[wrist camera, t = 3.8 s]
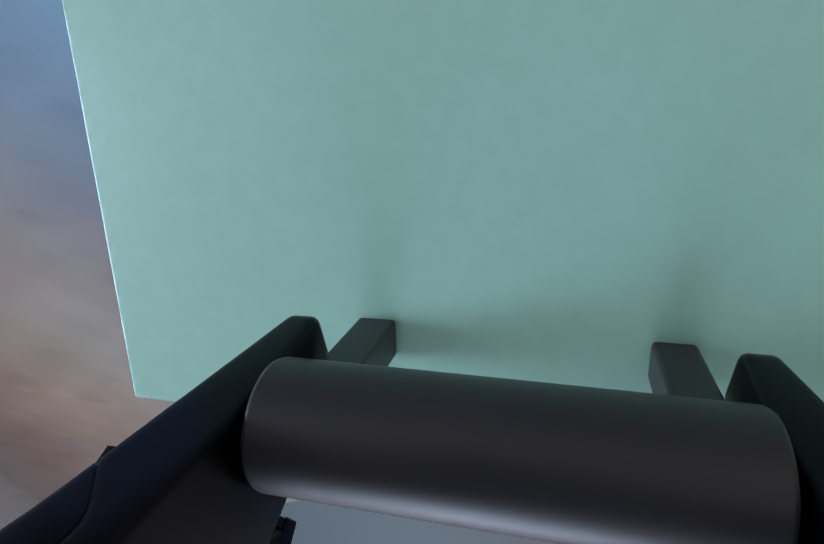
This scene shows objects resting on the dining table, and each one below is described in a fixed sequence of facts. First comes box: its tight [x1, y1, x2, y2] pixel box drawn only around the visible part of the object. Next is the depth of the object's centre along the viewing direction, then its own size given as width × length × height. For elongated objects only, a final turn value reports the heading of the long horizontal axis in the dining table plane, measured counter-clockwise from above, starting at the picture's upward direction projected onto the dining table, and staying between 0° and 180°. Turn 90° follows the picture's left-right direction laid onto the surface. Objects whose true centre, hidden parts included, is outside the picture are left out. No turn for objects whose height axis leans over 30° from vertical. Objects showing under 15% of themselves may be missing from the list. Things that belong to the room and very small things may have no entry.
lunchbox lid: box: [62, 0, 824, 544], centre depth 7 cm, size 12×16×5 cm
